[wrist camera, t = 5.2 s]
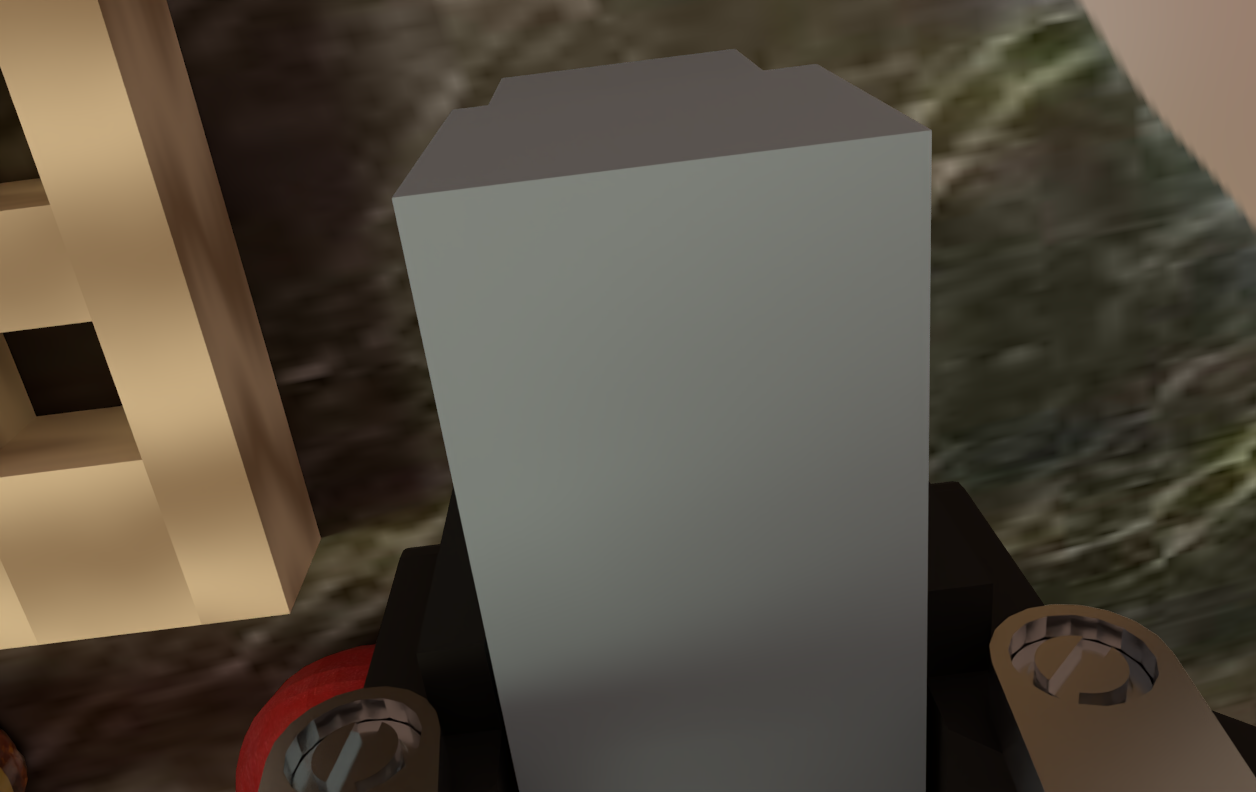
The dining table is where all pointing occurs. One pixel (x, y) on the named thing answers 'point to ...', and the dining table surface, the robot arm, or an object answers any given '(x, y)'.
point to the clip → (688, 419)
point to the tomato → (298, 706)
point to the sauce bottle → (11, 766)
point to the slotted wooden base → (134, 350)
